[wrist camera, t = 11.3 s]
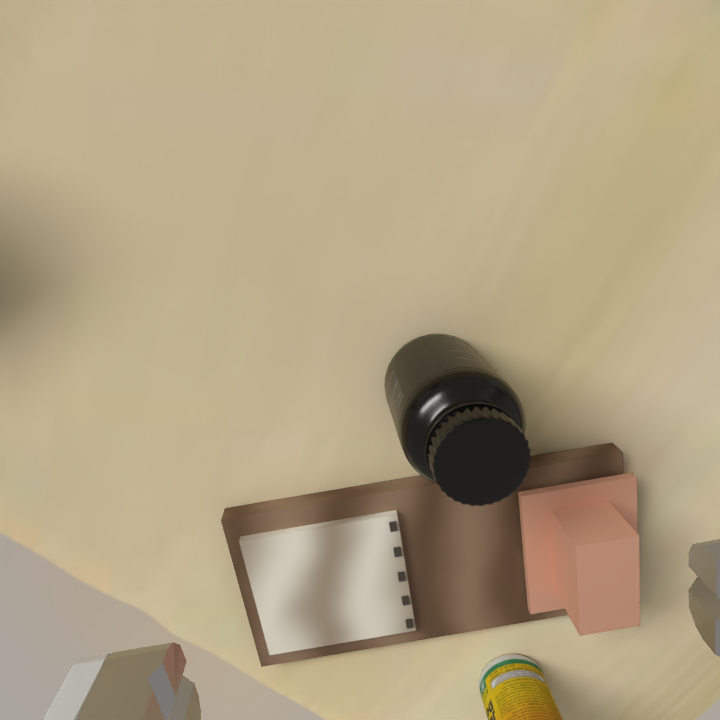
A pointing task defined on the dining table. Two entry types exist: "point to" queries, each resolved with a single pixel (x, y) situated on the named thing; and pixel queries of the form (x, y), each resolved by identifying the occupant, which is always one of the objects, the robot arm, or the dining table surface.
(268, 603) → the ticket board
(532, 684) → the supplement bottle
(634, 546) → the stub
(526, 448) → the supplement bottle
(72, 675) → the robot arm
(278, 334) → the dining table surface
